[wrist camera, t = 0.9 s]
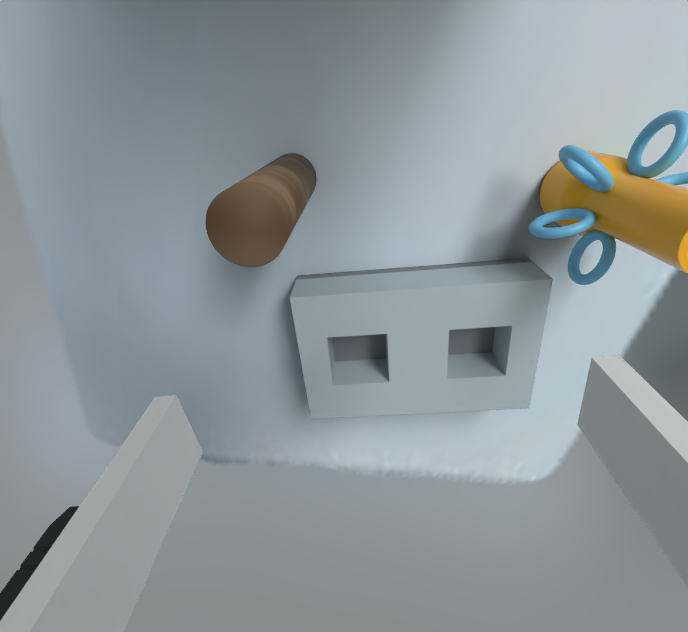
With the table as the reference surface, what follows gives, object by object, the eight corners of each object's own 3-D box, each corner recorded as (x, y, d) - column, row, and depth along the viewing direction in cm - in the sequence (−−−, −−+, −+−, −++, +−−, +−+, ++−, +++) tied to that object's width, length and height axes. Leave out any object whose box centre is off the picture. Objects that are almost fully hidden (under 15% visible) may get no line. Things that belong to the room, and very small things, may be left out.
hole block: (297, 275, 37) (289, 297, 33) (528, 258, 36) (552, 278, 31) (315, 388, 44) (311, 419, 39) (511, 377, 42) (529, 408, 38)
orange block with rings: (509, 264, 36) (597, 353, 23) (492, 151, 31) (590, 181, 18) (649, 223, 34) (835, 296, 21) (653, 96, 29) (897, 84, 16)
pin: (266, 155, 32) (195, 190, 18) (313, 151, 32) (279, 183, 18) (274, 203, 34) (217, 269, 20) (319, 199, 34) (292, 264, 20)
